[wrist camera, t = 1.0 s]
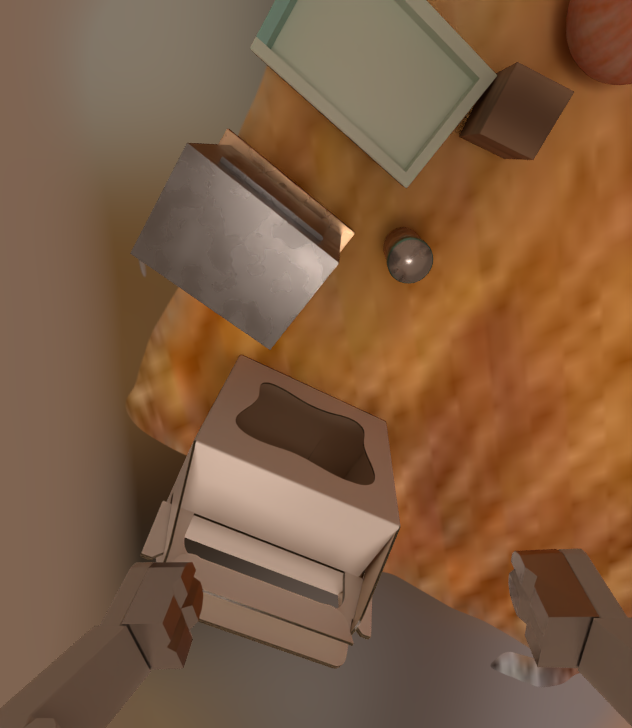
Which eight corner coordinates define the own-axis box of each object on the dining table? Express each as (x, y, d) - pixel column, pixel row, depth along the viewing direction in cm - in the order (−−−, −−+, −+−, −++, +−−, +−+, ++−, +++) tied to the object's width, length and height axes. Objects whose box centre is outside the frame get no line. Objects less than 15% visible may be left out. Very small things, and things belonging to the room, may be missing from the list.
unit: (229, 128, 39) (181, 119, 28) (354, 232, 43) (356, 260, 32) (174, 229, 44) (114, 255, 33) (290, 313, 48) (272, 363, 37)
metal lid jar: (400, 217, 42) (409, 229, 36) (429, 242, 43) (443, 258, 37) (374, 249, 44) (378, 265, 38) (402, 273, 45) (411, 292, 39)
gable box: (388, 422, 55) (421, 645, 30) (342, 483, 60) (338, 711, 36) (238, 352, 51) (136, 539, 27) (206, 425, 57) (97, 632, 32)
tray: (330, -83, 32) (329, -103, 29) (487, 80, 36) (497, 75, 34) (256, 55, 36) (249, 48, 34) (403, 186, 41) (406, 188, 38)
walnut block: (488, 77, 36) (517, 62, 30) (536, 101, 37) (574, 91, 30) (458, 136, 38) (480, 133, 32) (504, 158, 39) (533, 159, 33)
